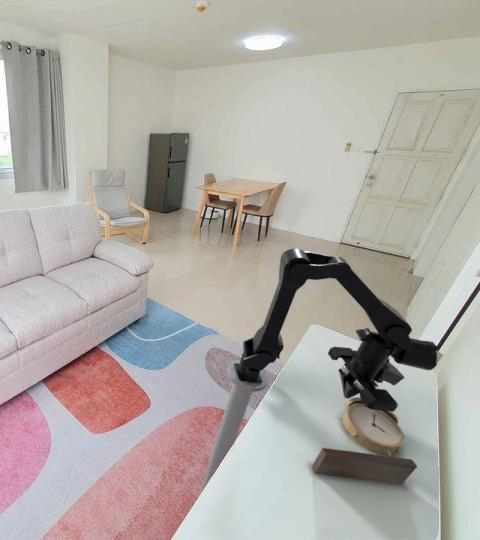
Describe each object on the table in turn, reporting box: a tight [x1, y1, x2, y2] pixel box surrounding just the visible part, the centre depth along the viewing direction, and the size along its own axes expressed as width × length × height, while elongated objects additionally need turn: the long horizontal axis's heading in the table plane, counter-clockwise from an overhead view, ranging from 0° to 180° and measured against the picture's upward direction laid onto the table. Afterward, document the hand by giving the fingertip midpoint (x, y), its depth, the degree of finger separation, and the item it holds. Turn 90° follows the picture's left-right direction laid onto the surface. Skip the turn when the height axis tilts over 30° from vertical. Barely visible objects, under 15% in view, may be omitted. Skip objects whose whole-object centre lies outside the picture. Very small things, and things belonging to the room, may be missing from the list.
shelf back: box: [311, 447, 418, 486], centre depth 63 cm, size 2×18×7 cm, turn 84°
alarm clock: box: [342, 396, 405, 457], centre depth 75 cm, size 11×5×15 cm
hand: (346, 397), depth 80 cm, fingers closed
